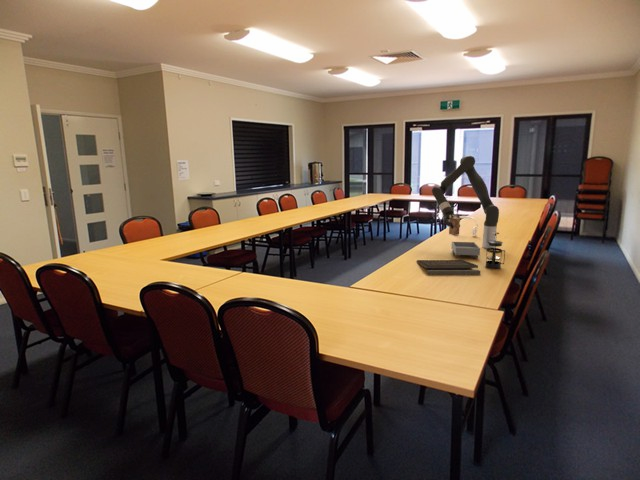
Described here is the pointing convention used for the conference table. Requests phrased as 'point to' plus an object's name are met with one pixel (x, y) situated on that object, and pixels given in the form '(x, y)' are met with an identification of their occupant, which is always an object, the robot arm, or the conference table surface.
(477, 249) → the shallow gray tray
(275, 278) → the conference table surface
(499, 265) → the french press
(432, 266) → the shutter
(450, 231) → the walnut block
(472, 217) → the headset
